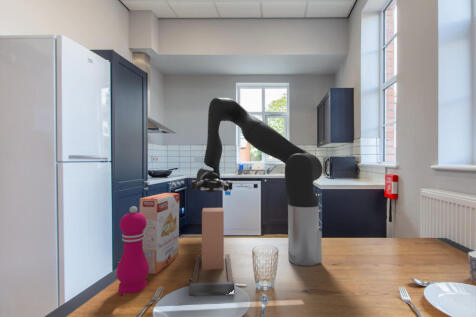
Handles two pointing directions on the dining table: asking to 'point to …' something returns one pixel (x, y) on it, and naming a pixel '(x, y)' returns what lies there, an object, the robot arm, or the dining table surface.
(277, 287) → the dining table surface
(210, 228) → the block
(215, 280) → the chute
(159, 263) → the cracker box
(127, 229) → the pepper mill
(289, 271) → the dining table surface
